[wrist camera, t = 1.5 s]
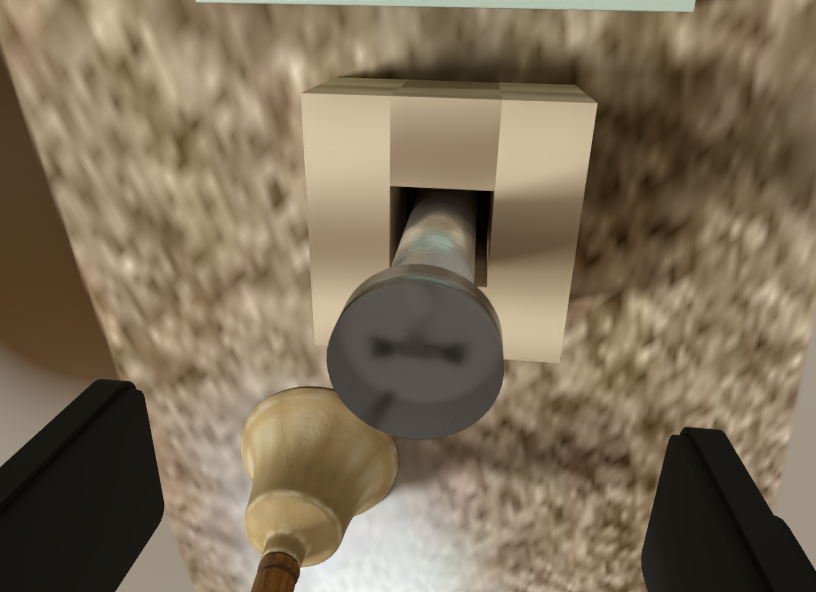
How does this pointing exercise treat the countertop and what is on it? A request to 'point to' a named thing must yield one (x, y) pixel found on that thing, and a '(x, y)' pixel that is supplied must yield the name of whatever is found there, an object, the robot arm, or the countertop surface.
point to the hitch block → (450, 169)
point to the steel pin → (421, 329)
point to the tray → (501, 4)
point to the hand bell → (308, 479)
